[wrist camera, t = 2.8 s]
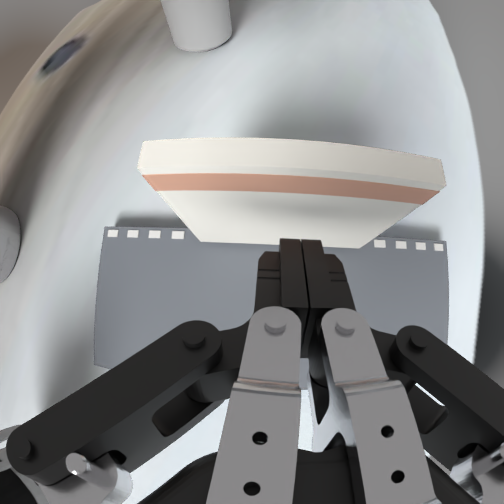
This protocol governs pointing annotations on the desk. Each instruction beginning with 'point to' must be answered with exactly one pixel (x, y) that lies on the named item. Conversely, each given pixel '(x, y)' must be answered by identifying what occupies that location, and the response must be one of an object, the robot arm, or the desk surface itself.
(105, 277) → the board
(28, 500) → the glass holder
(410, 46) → the desk surface
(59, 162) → the desk surface
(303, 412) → the desk surface
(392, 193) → the white square panel
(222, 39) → the can
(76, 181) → the desk surface
